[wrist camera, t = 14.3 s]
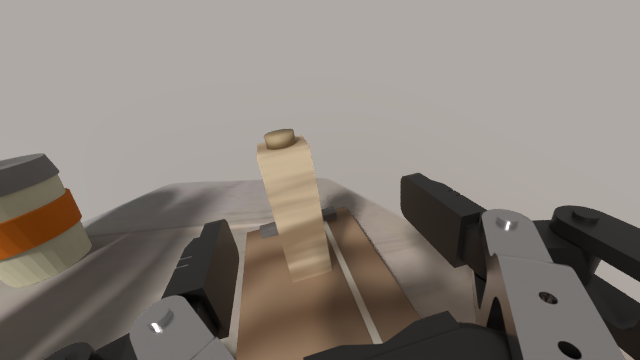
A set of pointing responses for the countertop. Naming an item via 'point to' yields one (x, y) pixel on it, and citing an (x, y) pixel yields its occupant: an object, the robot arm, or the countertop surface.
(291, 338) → the walnut board
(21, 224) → the reusable coffee cup
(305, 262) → the wooden pepper mill
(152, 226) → the countertop surface
